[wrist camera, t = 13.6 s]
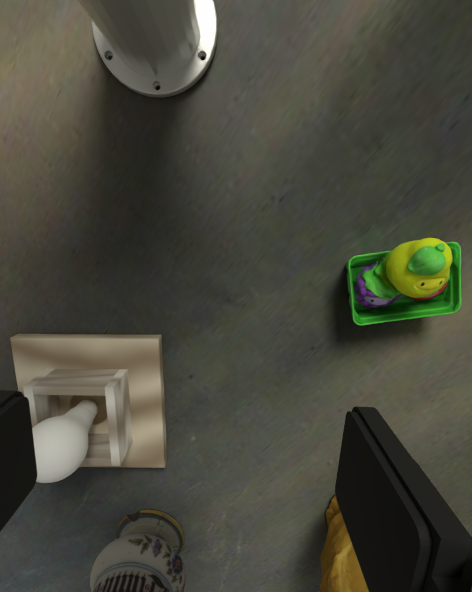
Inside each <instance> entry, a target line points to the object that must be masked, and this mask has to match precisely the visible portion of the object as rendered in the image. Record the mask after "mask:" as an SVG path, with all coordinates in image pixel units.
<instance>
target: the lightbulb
mask: <svg viewBox="0 0 472 592" xmlns="http://www.w3.org/2000/svg"><path fill="white" fill-rule="evenodd" d="M97 412H98V407H97V405H96V404H95V403H94V402H93V401H90V400H84V401H81V402H80V403H79V404H78V405H77V406H76V407H74V408H72V409H70V410H69V411H68V412H67V413H66V414H64V415H62V416H56V417H52V418H48V419H46V420H44V421H42V422H40V423H38V424H37V425H36V426H34V427H33V428H32V431H33V440H34V449H35V457H36V466H37V480H36V482H40V483H52V482H57V481H60V480H62V479H65V478H66V477H68V476H69V475H71V474H72V473H73V472H74V471H76V470H77V469H78V468H79V467H80V465H81V464H82V462H83V460H84V459H85V456H86V453H87V450H88V431H89V429H90V427H91V425H92V423H93V420H94V418H95V416H96V414H97Z"/></svg>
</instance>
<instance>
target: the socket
mask: <svg viewBox="0 0 472 592" xmlns="http://www.w3.org/2000/svg"><path fill="white" fill-rule="evenodd" d="M10 340H11V346H12V353H13V359H14V366H15V373H16V379H17V386H18V391H20V392H22V393H23V395H24V397H27V398H28V400H29V405H30V414H31V423H32V428H33V427H34V426H36V425H37V424H38V423H40V422H42V421H44V420H46V419H48V418H52V417H56V416H62V415H64V414H66V413H67V412H68V411H69V410H70V409H72V408H74V407H76V406H77V405H78V404H79V403H80V402H81V401H84V400H90V401H93V402H94V403H95V404H96V405H97V407H98V412H97V414H96V416H95V418H94V420H93V423H92V425H91V427H90V429H89V431H88V450H87V453H86V456H85V459H84V460H83V462H82V464H81V465H80V467H143V468H165V465H166V462H167V444H166V422H165V400H164V379H163V357H162V335H120V334H17V335H15V336H13V337H11V338H10Z"/></svg>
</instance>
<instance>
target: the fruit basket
mask: <svg viewBox="0 0 472 592" xmlns="http://www.w3.org/2000/svg"><path fill="white" fill-rule="evenodd" d="M346 268H347V270H348V274H347V283H348V291H349V294H350V296H349V303H350V306H351V310H352V317H353V321H354V322H355V323H356V324H357V325H369V324H376V323H383V322H390V321H397V320H405V319H414V318H420V317H428V316H436V315H444V314H452V313H455V312H457V311H458V310H459V308H460V306H461V247H460V245H459V244H458V243H456V242H447V243H445V242H443V241H441V240H439V239H436V238H425V239H422V240H416V241H410V242H406V243H403V244H401V245H399V246H398V247H396V248H395V249H394V250H393V251H386V252H379V253H372V254H364V255H357V256H354V257H353V258H351V259H350V261H348V262H347V263H346Z"/></svg>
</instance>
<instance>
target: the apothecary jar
mask: <svg viewBox="0 0 472 592" xmlns="http://www.w3.org/2000/svg"><path fill="white" fill-rule="evenodd" d="M183 545H184V534H183V531H182V528H181V527H180V525H179V524H178V522H177V521H176V520H175V519H174V518H172V517H171V516H170V515H168V514H166V513H164V512H161V511H158V510H152V509H144V510H139V511H138V512H137V513H136V514H135V515H132V516H131V515H127V516H126V517H125V518H124V519H123V520H122V521H121V522H120V524H119V526H118V529H117V539H116V540H114V541H112V542H111V543H109V544H108V545H107V546H106V547H105V548H104V549H103V550H102V551H101V552H100V554H99V555H98V557H97V558H96V560H95V562H94V564H93V567H92V571H91V576H90V586H91V591H92V592H183V591H184V587H185V569H184V565H183V562H182V560H181V558H180V556H179V553H180V552H181V550H182V548H183Z"/></svg>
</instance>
